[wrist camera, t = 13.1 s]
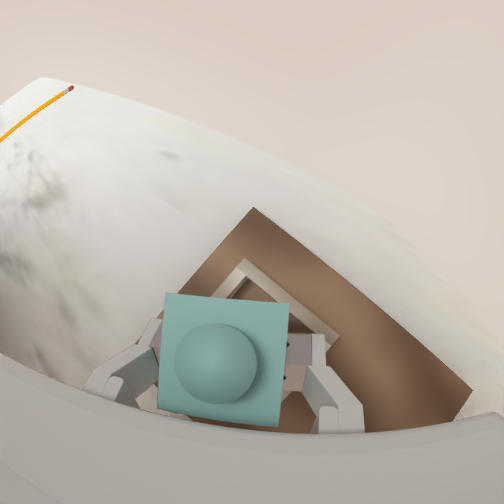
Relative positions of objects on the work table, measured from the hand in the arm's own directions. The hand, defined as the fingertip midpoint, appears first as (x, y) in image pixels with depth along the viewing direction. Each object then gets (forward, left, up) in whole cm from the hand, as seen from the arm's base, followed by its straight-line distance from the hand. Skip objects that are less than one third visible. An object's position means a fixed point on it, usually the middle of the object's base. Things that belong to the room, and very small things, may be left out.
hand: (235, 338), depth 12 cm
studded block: (-1, 0, -5) cm, 5 cm away
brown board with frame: (-1, -5, -9) cm, 10 cm away
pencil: (-2, +43, -9) cm, 44 cm away
